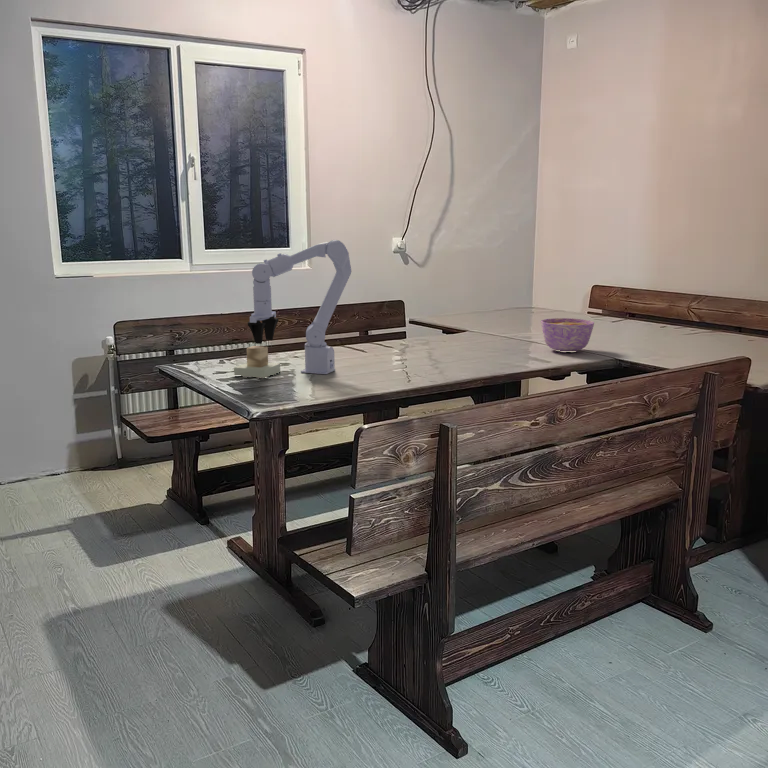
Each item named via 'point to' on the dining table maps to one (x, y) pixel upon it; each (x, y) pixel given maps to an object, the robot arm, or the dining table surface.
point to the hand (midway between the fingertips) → (264, 341)
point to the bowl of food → (567, 333)
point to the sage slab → (257, 370)
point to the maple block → (257, 356)
